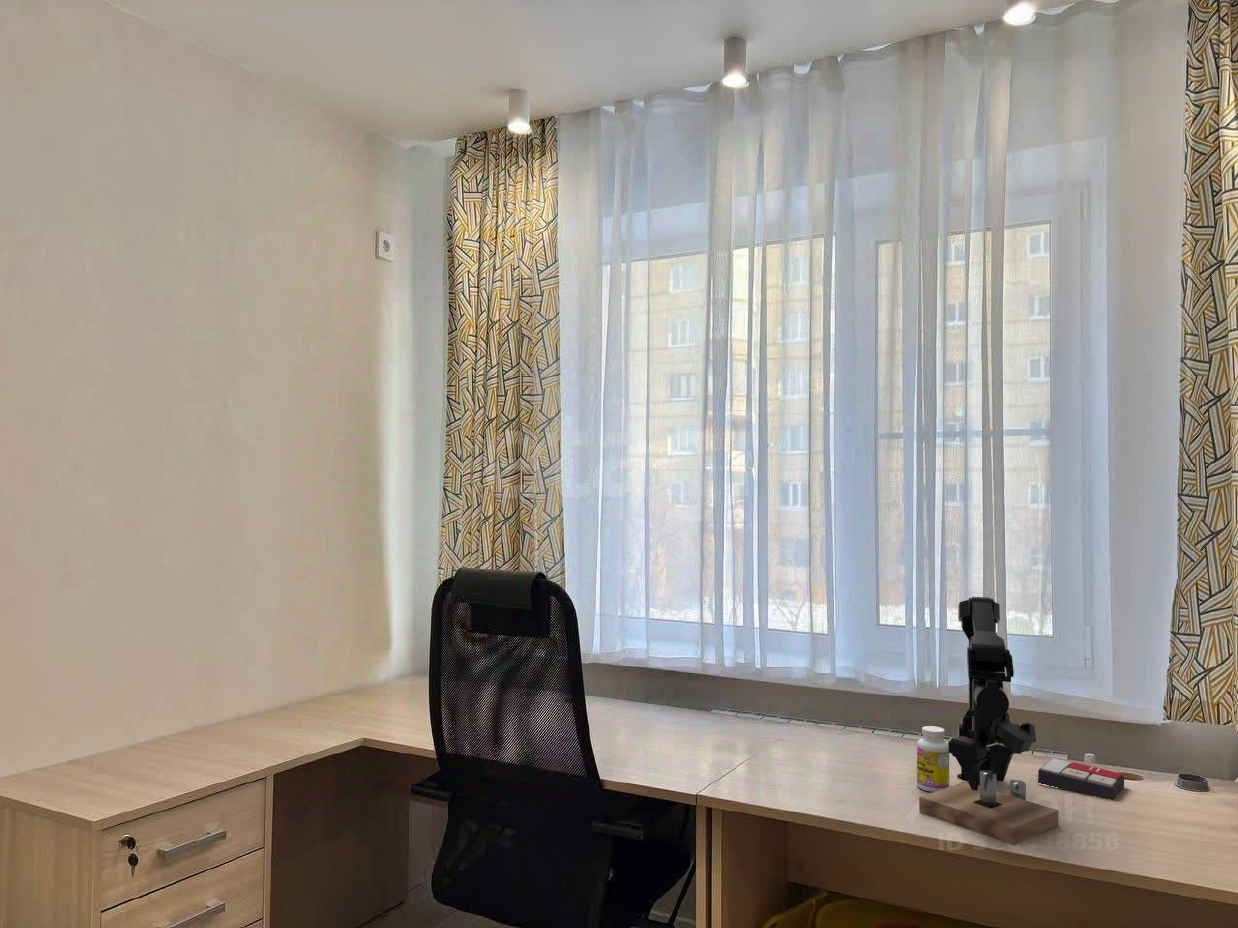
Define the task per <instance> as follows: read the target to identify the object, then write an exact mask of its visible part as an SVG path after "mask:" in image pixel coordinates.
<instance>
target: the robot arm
mask: <svg viewBox="0 0 1238 928" xmlns="http://www.w3.org/2000/svg"><path fill="white" fill-rule="evenodd" d="M1000 606H1001V605H1000V603H998V602H996V601H995V600H994V598H990V597H989V596H988V597H987V596H986V597H985V596H983V597H982V596H972V597H968V599H966V600H962V601H960V602H959V603H958V608H957V609H958V610H957V617H958V622H961V625H960V626H961V629H962V631H963V633H964V635H965V636H966V638H967V639H968V646H967V647H966V648H967V649H966V664H967V665H966V666H967V676H968V677H967V678H968V705H967V706H966V708H965V709H964V711H963V712H962V714H961V716H960V720H961V721H960V723H958V724H957V737H953V738H951V739H950V740H949V741H947V743H948V752H949V754H951V756H952V757H954V758H955V759H956V761H957V762H958V763H957V764H959V767H960V771H961V772H960V773H957V775H956V776H957V778H959V779H963V780H966V781H967V783H969V785H970V787H971V789H972V790H975V791H977V790H978V786H980V771H982V770H987V771H993V772H995V773H996V781H998V782H1000V783H1004V781H1005V779H1006V775H1007V773H1008V771H1009V766H1010V764H1011V761H1012V758H1013V757H1014V755H1015V754H1017V755H1021V754H1022V753H1025V752H1029V751H1030V749H1031V747H1032V744H1033V743H1036V742H1037V739H1036V729H1035V728H1036V727H1035V725H1034V724H1032V723H1031V722H1025V723H1022V724H1021V725H1020V724H1018V723H1016V724H1015V723H1013V722H1011V721H1010V715H1009V712H1008V710H1009V707H1010V700H1009V698H1008V696H1007V694H1006V691H1005V689H1004V683H1003V682H1005V683H1011V682H1012V678H1013V677H1014V676H1015V673H1014V672H1015V671H1014V662H1013V655H1012V654H1011V650H1009V649H1007V648H1006V644H1005V639H1004V638H1002V637H1001V636H999V635H998V634H997V630H996V629H997V624H1000V621H1001V613H1000V611H1001V609H1000V608H1001V607H1000ZM1005 672H1006V673H1005Z"/></svg>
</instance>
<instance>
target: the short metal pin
mask: <svg viewBox="0 0 1238 928" xmlns="http://www.w3.org/2000/svg"><path fill="white" fill-rule="evenodd" d="M1009 796H1013V797H1016V798H1020V799H1023V800H1026V801H1027V783H1026V782H1025V781H1022V780H1019V779H1011V780H1010V781H1009Z"/></svg>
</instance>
